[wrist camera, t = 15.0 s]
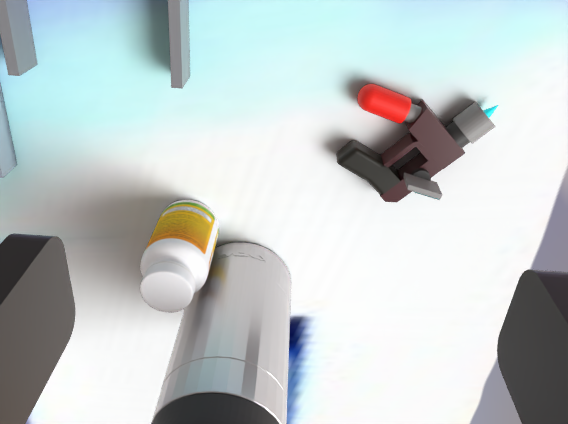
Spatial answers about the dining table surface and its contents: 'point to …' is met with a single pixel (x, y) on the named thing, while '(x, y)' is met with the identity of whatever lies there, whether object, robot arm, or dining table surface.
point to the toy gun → (412, 144)
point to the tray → (5, 141)
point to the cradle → (21, 52)
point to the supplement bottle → (178, 255)
